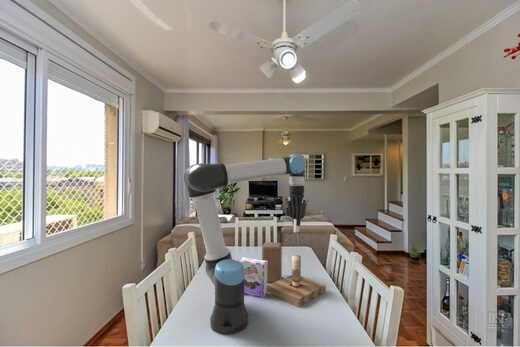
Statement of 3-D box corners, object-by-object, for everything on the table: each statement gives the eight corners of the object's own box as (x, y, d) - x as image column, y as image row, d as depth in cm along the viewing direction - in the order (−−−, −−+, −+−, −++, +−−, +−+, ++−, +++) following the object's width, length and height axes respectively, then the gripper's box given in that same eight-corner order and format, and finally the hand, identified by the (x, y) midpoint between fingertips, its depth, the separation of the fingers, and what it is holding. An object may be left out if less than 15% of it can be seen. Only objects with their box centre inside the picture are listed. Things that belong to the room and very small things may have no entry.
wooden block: (279, 284, 141) (279, 247, 141) (261, 282, 143) (261, 246, 143) (281, 277, 150) (281, 242, 150) (264, 275, 152) (264, 241, 152)
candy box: (237, 293, 130) (237, 260, 130) (242, 288, 135) (242, 256, 135) (263, 298, 124) (263, 263, 125) (267, 293, 130) (267, 260, 130)
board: (298, 307, 116) (298, 299, 116) (266, 292, 131) (266, 285, 131) (325, 292, 132) (325, 285, 132) (294, 280, 146) (294, 273, 146)
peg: (296, 295, 128) (297, 258, 128) (289, 291, 131) (290, 256, 131) (302, 292, 131) (302, 256, 131) (295, 289, 135) (295, 254, 135)
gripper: (311, 185, 129) (311, 233, 129) (291, 184, 139) (291, 228, 139) (302, 185, 124) (302, 235, 124) (282, 184, 134) (281, 230, 134)
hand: (296, 231), depth 131 cm, fingers closed
